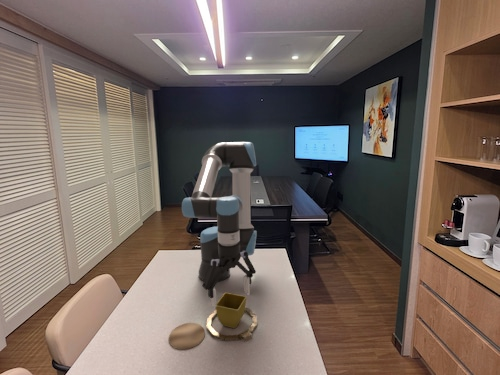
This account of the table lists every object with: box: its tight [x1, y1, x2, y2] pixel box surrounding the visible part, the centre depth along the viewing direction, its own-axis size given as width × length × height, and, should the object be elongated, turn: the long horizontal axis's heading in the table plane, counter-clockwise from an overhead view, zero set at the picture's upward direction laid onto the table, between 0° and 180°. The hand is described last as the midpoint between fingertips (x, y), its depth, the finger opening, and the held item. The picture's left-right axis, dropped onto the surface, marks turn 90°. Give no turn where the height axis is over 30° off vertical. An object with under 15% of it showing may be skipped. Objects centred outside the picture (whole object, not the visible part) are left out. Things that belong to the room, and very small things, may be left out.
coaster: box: [168, 322, 206, 350], centre depth 96 cm, size 12×12×1 cm
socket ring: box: [206, 306, 258, 343], centre depth 103 cm, size 21×18×2 cm
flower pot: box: [216, 292, 247, 329], centre depth 102 cm, size 9×9×9 cm
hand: (230, 298), depth 100 cm, fingers open, 13 cm apart
